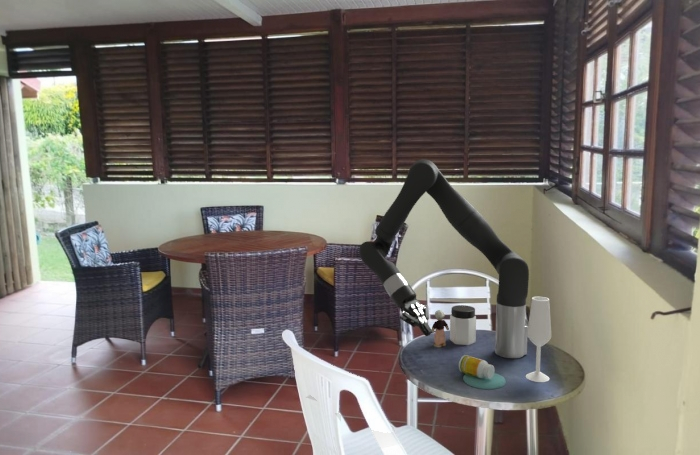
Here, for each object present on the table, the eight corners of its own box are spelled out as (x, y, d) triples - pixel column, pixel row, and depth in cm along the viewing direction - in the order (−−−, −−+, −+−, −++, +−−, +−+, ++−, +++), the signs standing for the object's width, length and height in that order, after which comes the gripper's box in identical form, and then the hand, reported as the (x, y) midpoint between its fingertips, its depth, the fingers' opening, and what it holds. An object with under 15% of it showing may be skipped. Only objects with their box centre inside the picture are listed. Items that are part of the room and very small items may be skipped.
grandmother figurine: (441, 341, 192) (442, 306, 190) (450, 344, 189) (450, 309, 188) (427, 347, 187) (427, 311, 185) (436, 350, 184) (436, 313, 183)
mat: (489, 369, 167) (489, 368, 167) (514, 385, 156) (514, 384, 156) (455, 375, 163) (455, 374, 163) (478, 391, 152) (478, 390, 152)
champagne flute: (529, 371, 166) (532, 294, 163) (552, 376, 162) (555, 297, 159) (522, 378, 161) (525, 299, 157) (545, 384, 157) (549, 303, 153)
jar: (460, 335, 199) (461, 303, 197) (479, 340, 193) (480, 308, 191) (445, 341, 192) (445, 308, 191) (464, 347, 187) (465, 313, 185)
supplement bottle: (469, 354, 167) (497, 362, 160) (466, 371, 166) (494, 380, 160) (459, 354, 163) (488, 363, 156) (456, 372, 163) (485, 381, 156)
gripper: (392, 287, 173) (423, 333, 166) (418, 280, 182) (448, 323, 175) (380, 300, 177) (409, 346, 170) (406, 292, 186) (435, 335, 179)
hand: (429, 334), depth 173 cm, fingers closed
